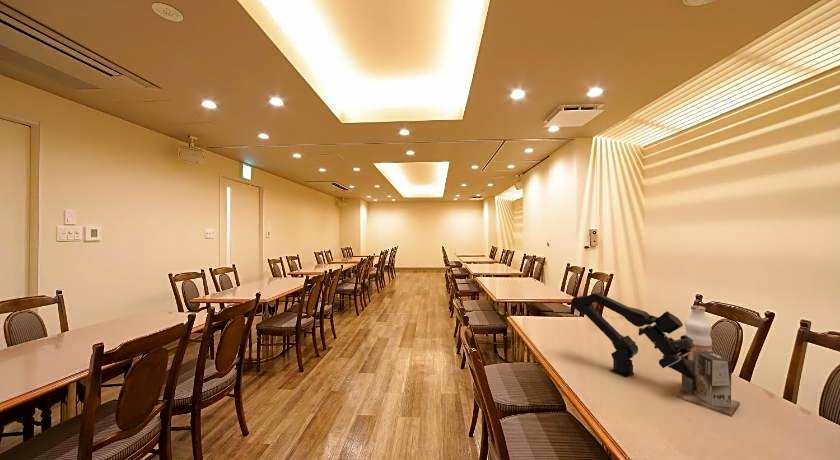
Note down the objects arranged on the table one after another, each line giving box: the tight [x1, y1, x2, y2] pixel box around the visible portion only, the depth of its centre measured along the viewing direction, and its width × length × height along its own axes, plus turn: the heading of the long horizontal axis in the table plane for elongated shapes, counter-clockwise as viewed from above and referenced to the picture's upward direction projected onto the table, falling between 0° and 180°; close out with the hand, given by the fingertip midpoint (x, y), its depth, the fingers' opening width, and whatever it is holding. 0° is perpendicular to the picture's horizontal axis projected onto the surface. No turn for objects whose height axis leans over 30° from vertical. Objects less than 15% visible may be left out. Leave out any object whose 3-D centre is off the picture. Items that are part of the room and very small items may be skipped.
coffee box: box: [694, 351, 732, 407], centre depth 115 cm, size 9×6×16 cm
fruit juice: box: [684, 305, 713, 361], centre depth 143 cm, size 9×9×28 cm
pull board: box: [675, 358, 741, 417], centre depth 116 cm, size 15×13×13 cm
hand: (695, 377), depth 119 cm, fingers closed on pull board, 3 cm apart
